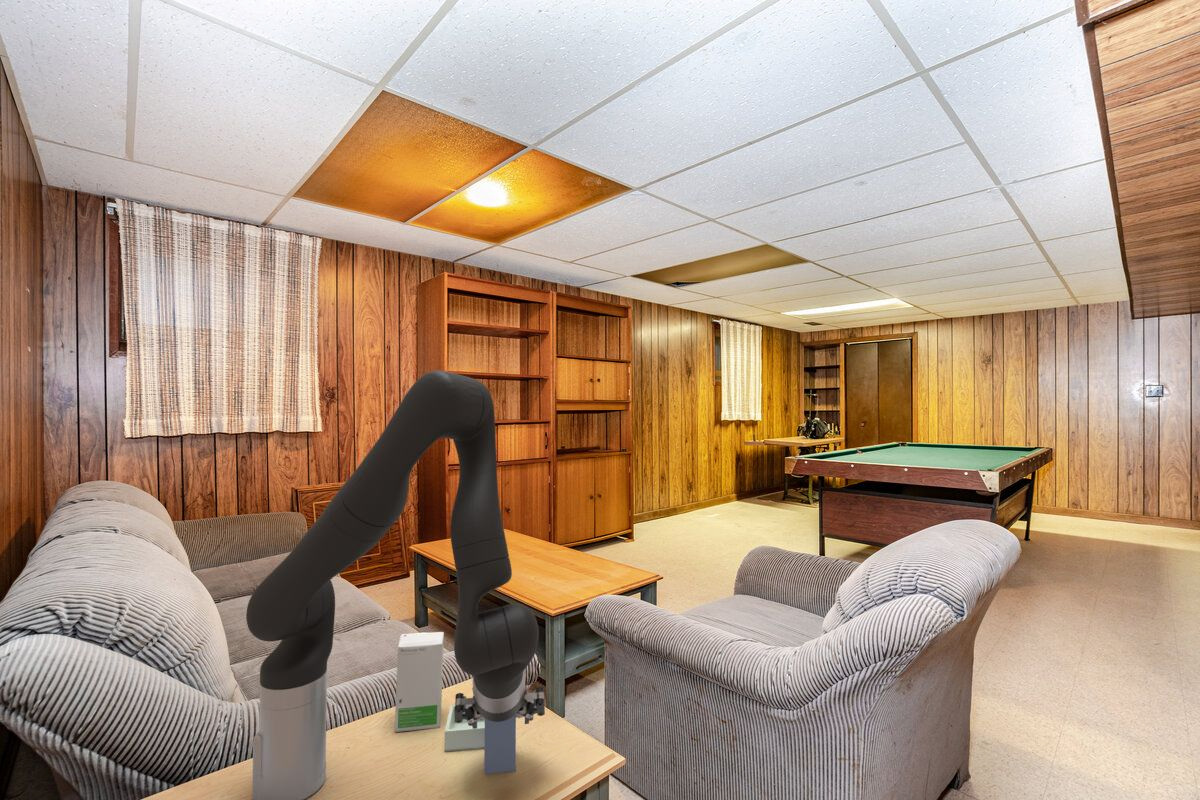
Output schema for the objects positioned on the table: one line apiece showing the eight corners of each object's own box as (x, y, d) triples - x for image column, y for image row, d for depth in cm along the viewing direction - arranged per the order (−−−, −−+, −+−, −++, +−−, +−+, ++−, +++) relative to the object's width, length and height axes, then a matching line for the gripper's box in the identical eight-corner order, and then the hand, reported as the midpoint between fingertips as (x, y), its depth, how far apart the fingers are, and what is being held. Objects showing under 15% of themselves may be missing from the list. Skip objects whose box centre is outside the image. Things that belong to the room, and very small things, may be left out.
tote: (444, 752, 94) (444, 731, 94) (450, 723, 103) (450, 705, 103) (501, 746, 96) (501, 726, 96) (502, 719, 104) (502, 700, 104)
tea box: (484, 774, 89) (484, 699, 89) (485, 755, 94) (486, 684, 94) (515, 771, 89) (516, 697, 90) (515, 752, 94) (515, 682, 95)
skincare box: (394, 733, 100) (394, 647, 100) (398, 714, 106) (399, 633, 106) (441, 727, 102) (442, 643, 102) (443, 708, 108) (443, 629, 108)
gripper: (546, 655, 85) (542, 692, 96) (451, 661, 83) (459, 699, 94) (548, 708, 79) (544, 741, 90) (447, 716, 77) (455, 749, 88)
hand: (501, 719), depth 92 cm, fingers open, 8 cm apart
